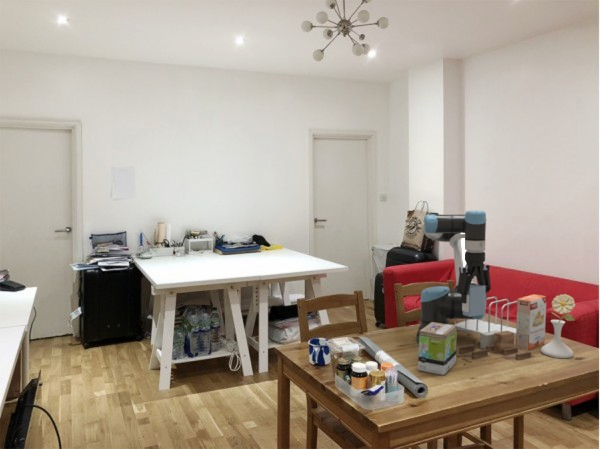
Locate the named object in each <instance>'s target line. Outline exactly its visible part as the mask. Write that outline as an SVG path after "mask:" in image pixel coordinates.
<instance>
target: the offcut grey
mask: <svg viewBox="0 0 600 449" xmlns="http://www.w3.org/2000/svg"><path fill="white" fill-rule="evenodd" d="M497 332H501V331H498V330H495V331H490V332H484V333H481V334H480V340H479V341H480V348H482V349H486V346H490V345H494V333H497Z"/></svg>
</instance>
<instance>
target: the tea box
mask: <svg viewBox="0 0 600 449" xmlns="http://www.w3.org/2000/svg"><path fill="white" fill-rule="evenodd" d="M457 335H458V330H457V326H456V325H454V324H450V323H449V324H442V323H436V322H431V323H430V324H428V325H427V326H426V327H424V328H423V329H421V330H420V331H419V343H418V360H417V361H418V362H417V364H418V365H417V370H418V371H421V372H425V373H430V374H436V375H442V376H444V375H445V374H446V373H448V371H449V370H450V369H452V367H453V366H454V365H455V364H456V362H457V357H456V356H457V338H458V337H457Z"/></svg>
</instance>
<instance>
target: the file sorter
mask: <svg viewBox="0 0 600 449" xmlns="http://www.w3.org/2000/svg"><path fill="white" fill-rule="evenodd" d="M491 299H495V301H491V302H490V303H489V305H488V321H486V315H485V316H484V318H483V319H474V320H472V319H464V321H460V322H457V320H456V319H454V318H453V320H454V321H453V325H456V326H457V331H461V332H465V333H476V334H480V335H481V333H484V332H490V331H495V330H498V331H501V332H502V331H510V332H513V333H514V337H516V328H515V327H511V326H509V317H510V313H509V312H510V305H512V304H517V301H518V300H515V301H512V302H511V301H509V299H507V298H504V299H500V300H498V297H497V296H491V297H490V296H489V297H487V300H491ZM504 301H506V302H507V303H505V304H503V305H502V307H501V310H500V312H501V313H500V324H499V323H498V322H497V320H498V318H497V317H498V303H500V302H504ZM493 304H495V316H494V318H495V319H494V320H495V321H494V322H491V307H492V305H493ZM506 306H507V309H506V313H507V314H506V325H503V317H504V316H503V315H504V308H505V307H506ZM497 323H498V324H497Z"/></svg>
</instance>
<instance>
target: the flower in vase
mask: <svg viewBox="0 0 600 449" xmlns="http://www.w3.org/2000/svg"><path fill="white" fill-rule="evenodd" d="M575 306H576V304H575V299H574V298H573V296H571V295H568V294H567V293H565V294H559V295H556V296H555V297H554V298H553V300H552V301H551V307H552V310H553V311H554V312H555V313H554V312H552V310H551V311H550V312H551V313H552V314H553V315H554V316H556V317H557V318H559V319H551V320H550V322H551V324H552V326H553V331H554V335H553V339H552V340H551V341H549V342H548V343H546V344H544V346H543V345H542V347H541V349H540V352H541V353H542V354H543V355H545V356H547V357H550V358H554V359H555V358H556V359H570V358H573V357H574V351H573V350H572V349H571V348H570V347H569V346H568V345H567V344H566V343H564V342H563V341H562V338H561V337H562V335H561V334H562V328H563V327H564V325H565V323H566V321H567V322H572V321H573V322H574V321H576V320H575V318H574V317H573V315H572V314H569V313H571V312H572V310H574V309H575ZM556 313H558V314H560V315H562V317H560V316H559V315H557V314H556ZM562 319H565V321H564V320H562Z"/></svg>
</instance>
